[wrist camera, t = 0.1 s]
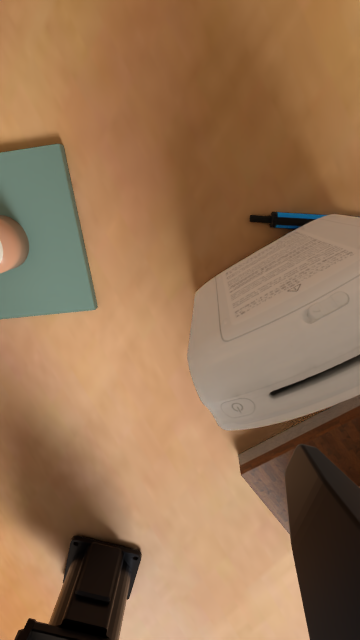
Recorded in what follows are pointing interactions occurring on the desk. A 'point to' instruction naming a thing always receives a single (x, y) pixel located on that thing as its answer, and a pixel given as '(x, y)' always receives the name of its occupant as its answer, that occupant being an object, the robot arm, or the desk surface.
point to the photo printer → (281, 328)
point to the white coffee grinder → (318, 431)
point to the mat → (44, 236)
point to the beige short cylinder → (12, 244)
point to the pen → (286, 219)
